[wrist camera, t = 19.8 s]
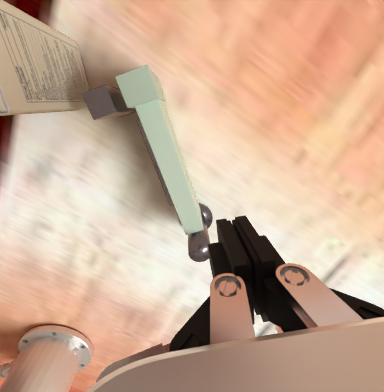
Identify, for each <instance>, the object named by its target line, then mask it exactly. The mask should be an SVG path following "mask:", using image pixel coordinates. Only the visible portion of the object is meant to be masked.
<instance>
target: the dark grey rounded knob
mask: <svg viewBox="0 0 384 392" xmlns="http://www.w3.org/2000/svg"><path fill="white" fill-rule="evenodd" d="M198 204H199V207H200V210H201V217H202V223H203V229H204V230H201V231H198V232H195V233H191V234H188V251H189V257H190V258H191V259H192V260H194V261H196V262H203V261H206V260H207V259H209V252H208V244H210V241H209V236H208V230H207V229H208V228H209V227H210V225H211V223H212V213H211V211H210V209H209V208H208V207H207V206H205V205H203V204H200V203H198ZM180 222H181V221H180ZM181 225H182V224H181Z"/></svg>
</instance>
